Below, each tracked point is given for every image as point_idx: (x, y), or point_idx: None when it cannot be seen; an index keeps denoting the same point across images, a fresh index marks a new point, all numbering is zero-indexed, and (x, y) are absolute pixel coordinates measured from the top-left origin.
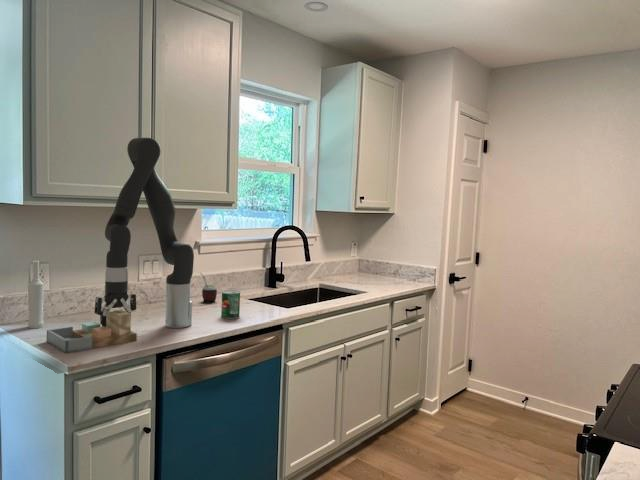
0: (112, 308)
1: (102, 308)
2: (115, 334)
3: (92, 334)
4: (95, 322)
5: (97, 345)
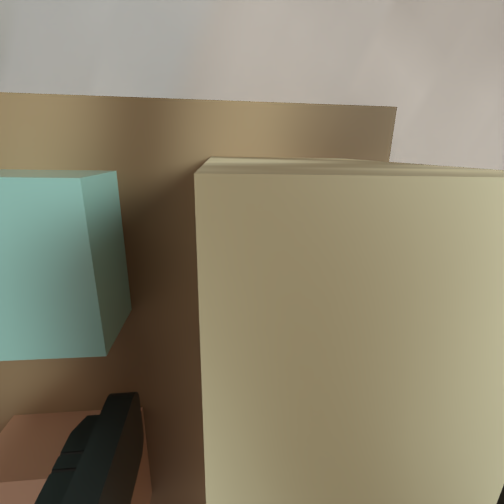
0: (438, 392)
1: (195, 201)
2: (200, 468)
3: (6, 428)
4: (72, 233)
5: None
